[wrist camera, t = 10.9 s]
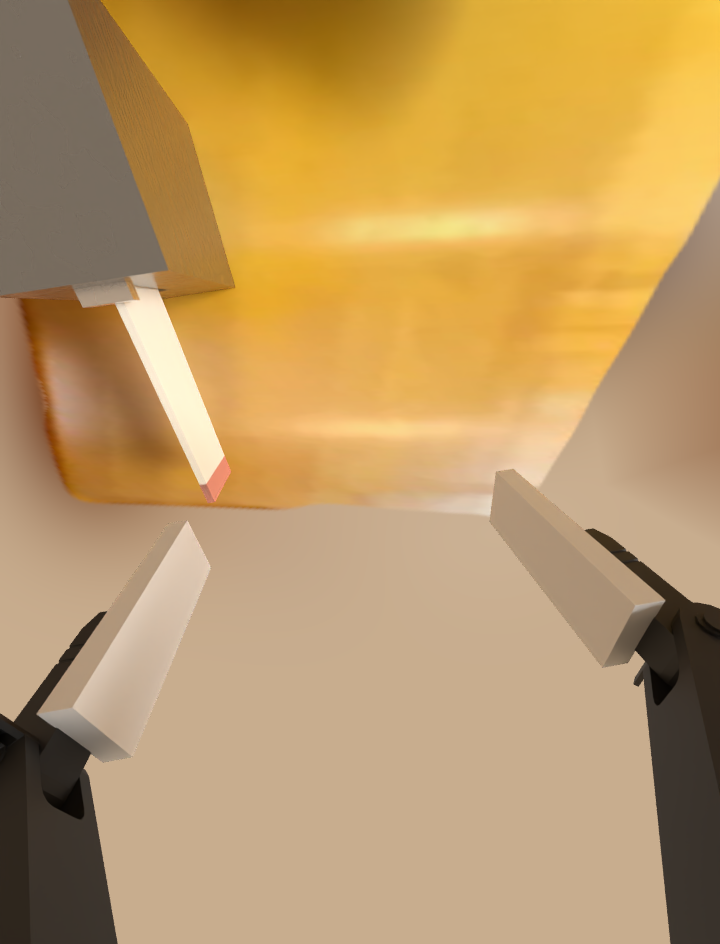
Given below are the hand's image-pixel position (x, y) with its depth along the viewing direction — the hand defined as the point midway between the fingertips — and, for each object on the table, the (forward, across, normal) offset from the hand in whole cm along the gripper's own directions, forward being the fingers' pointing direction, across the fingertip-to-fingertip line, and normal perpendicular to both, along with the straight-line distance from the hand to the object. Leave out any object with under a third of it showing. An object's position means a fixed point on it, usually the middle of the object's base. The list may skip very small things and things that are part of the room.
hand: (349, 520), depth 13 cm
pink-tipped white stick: (+21, -13, +2) cm, 24 cm away
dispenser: (+28, -14, +17) cm, 35 cm away
